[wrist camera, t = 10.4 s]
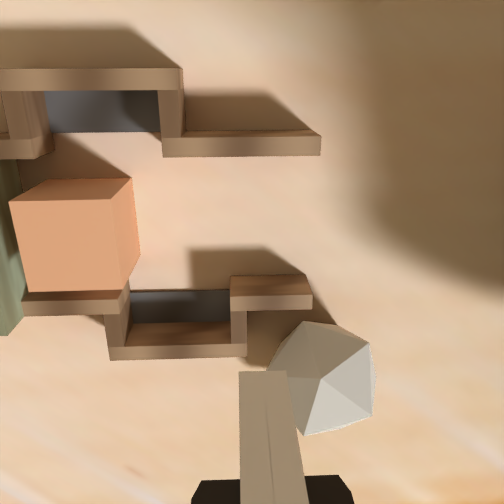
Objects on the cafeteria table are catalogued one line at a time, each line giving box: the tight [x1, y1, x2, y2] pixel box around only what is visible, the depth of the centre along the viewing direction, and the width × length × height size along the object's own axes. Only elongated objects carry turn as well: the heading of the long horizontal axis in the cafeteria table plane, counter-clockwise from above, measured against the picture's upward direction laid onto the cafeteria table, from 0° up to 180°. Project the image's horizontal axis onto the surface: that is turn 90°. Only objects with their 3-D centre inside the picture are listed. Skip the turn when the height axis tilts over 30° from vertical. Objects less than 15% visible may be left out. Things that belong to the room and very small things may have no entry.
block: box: [8, 178, 141, 292], centre depth 30 cm, size 6×6×6 cm
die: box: [266, 321, 376, 436], centre depth 34 cm, size 8×9×10 cm
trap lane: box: [0, 68, 321, 361], centre depth 30 cm, size 22×20×6 cm
